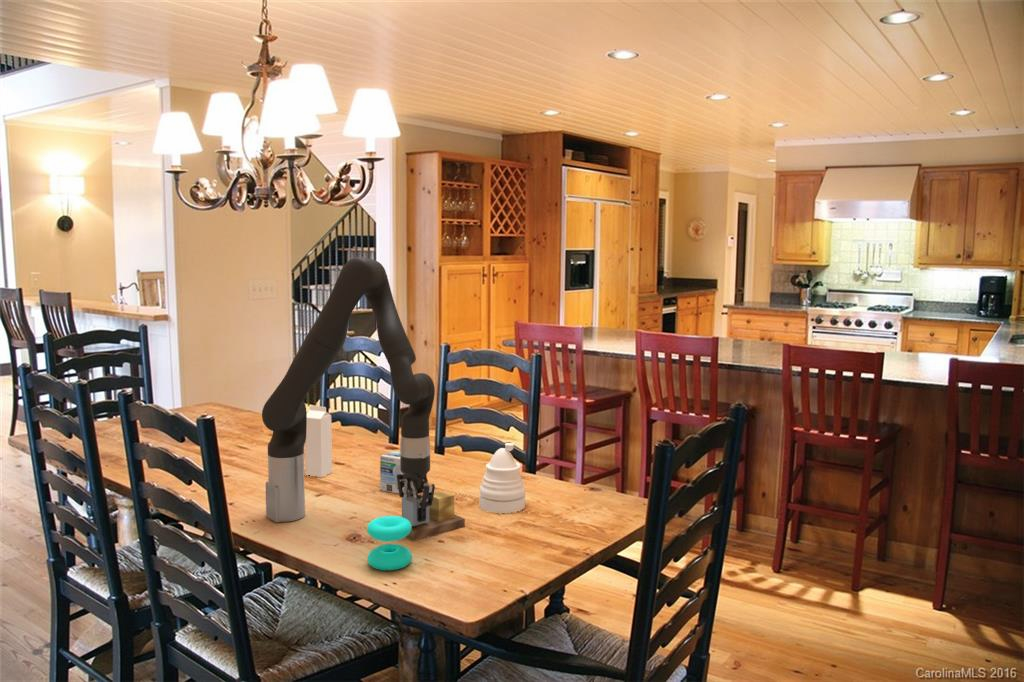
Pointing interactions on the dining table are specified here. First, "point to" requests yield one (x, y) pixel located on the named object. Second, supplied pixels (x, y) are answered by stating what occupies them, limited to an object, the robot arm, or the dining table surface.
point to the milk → (318, 442)
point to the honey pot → (502, 484)
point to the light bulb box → (390, 471)
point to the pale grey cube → (412, 510)
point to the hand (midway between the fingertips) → (415, 518)
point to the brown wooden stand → (438, 517)
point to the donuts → (389, 553)
